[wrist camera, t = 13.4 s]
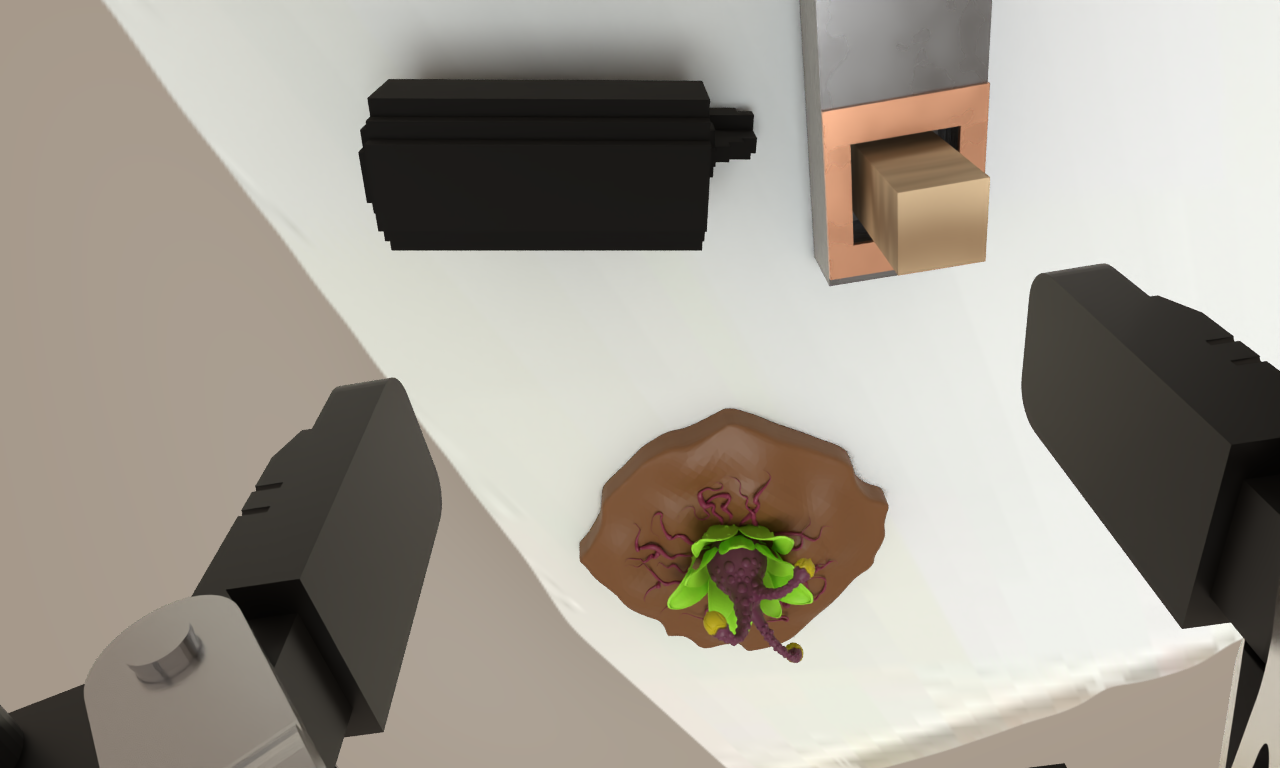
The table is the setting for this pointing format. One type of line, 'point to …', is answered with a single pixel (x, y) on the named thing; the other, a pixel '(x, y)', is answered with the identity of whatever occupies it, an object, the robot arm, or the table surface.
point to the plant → (735, 531)
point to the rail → (885, 102)
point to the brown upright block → (920, 202)
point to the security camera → (546, 163)
